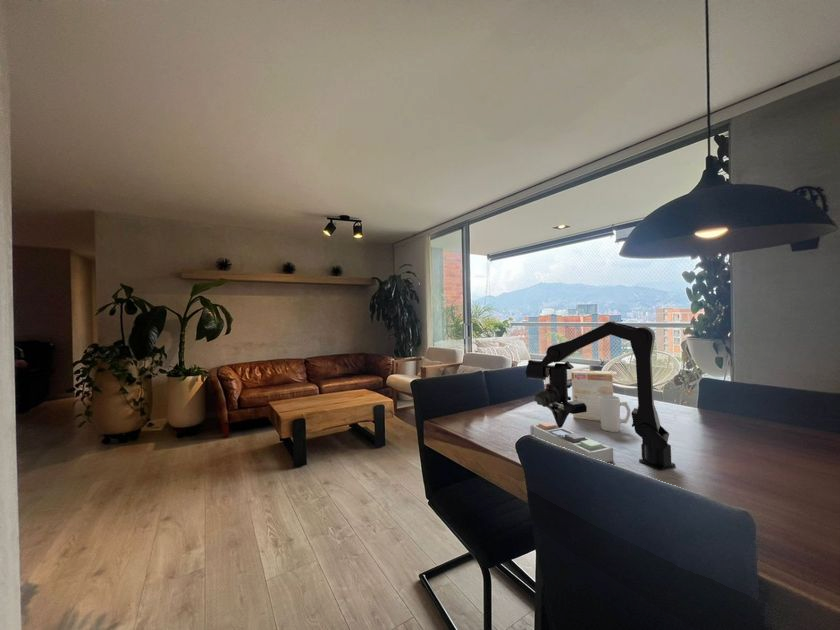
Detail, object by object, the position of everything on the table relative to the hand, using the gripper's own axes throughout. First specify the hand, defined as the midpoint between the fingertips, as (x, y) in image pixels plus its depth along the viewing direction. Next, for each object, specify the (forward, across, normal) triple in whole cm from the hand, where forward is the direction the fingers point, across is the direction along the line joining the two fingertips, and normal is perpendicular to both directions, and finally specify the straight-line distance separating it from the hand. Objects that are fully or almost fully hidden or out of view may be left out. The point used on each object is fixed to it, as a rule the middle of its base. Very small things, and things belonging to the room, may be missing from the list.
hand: (559, 427), depth 116 cm
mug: (+6, -3, +28) cm, 29 cm away
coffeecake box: (+6, -17, +32) cm, 37 cm away
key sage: (+3, +13, 0) cm, 13 cm away
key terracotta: (+3, -6, 0) cm, 7 cm away
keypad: (+6, +3, 0) cm, 7 cm away
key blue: (+4, 0, 0) cm, 4 cm away
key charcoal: (+3, +7, 0) cm, 7 cm away
